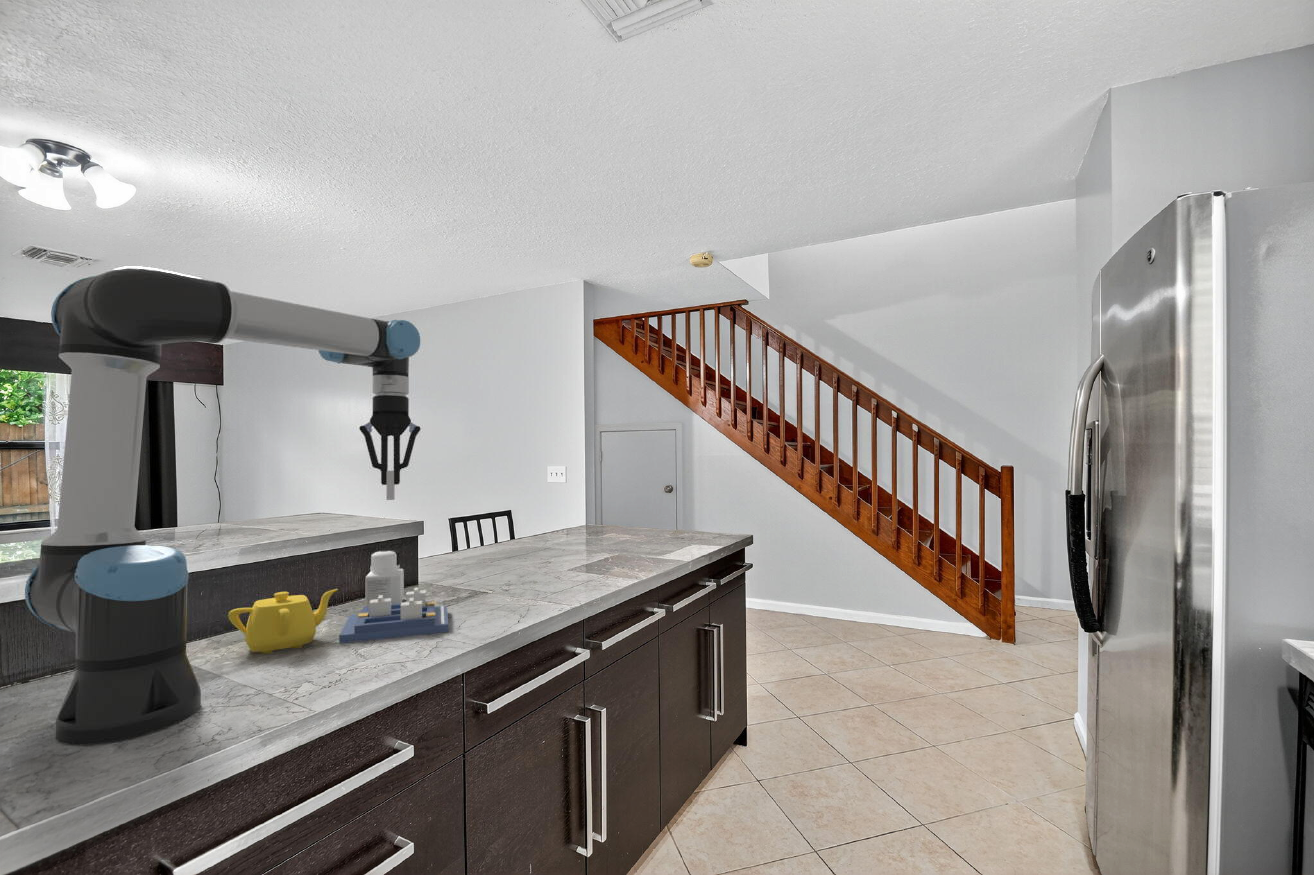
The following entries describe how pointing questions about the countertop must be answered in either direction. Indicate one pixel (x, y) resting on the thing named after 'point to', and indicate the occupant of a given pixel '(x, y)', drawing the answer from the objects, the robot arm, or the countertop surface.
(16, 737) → the countertop surface
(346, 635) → the blue divided tray
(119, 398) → the robot arm
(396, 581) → the container
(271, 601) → the teapot
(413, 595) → the grey studded block
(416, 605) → the grey studded block
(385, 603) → the gray studded block
